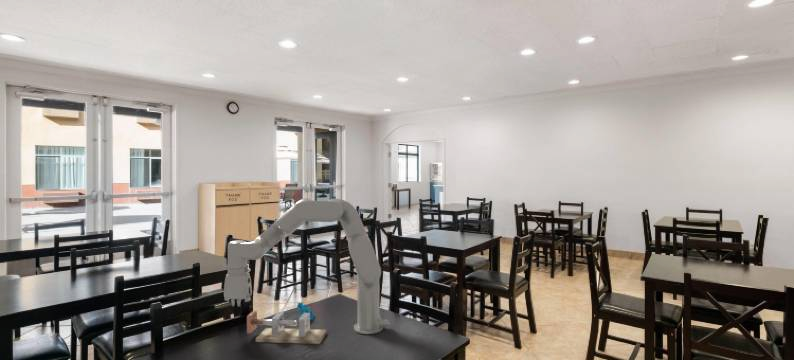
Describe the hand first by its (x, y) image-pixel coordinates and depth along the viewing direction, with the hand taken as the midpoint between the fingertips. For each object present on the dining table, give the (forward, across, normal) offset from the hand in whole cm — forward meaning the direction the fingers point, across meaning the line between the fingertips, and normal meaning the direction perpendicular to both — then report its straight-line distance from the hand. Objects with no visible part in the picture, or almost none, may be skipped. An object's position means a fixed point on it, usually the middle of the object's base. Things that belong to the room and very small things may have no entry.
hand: (237, 314), depth 161 cm
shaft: (+6, -15, 0) cm, 16 cm away
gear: (+9, -23, -20) cm, 32 cm away
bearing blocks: (+7, -23, 0) cm, 24 cm away
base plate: (+8, -23, 0) cm, 25 cm away
